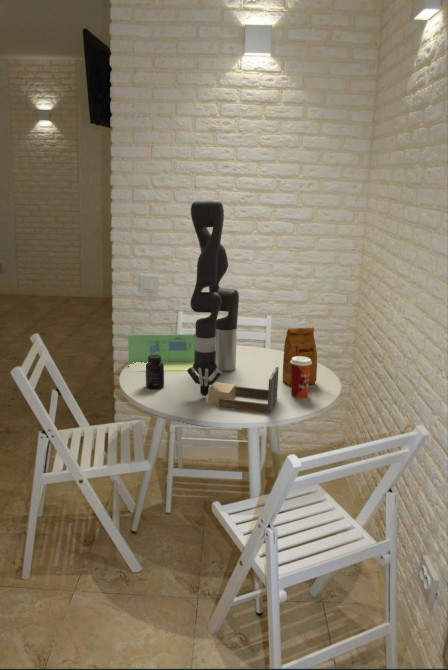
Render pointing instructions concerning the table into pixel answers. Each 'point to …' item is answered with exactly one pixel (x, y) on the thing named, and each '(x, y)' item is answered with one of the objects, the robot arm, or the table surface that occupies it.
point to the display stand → (163, 349)
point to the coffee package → (300, 351)
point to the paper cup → (300, 376)
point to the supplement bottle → (154, 372)
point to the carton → (221, 392)
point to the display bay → (253, 392)
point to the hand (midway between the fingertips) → (204, 394)
